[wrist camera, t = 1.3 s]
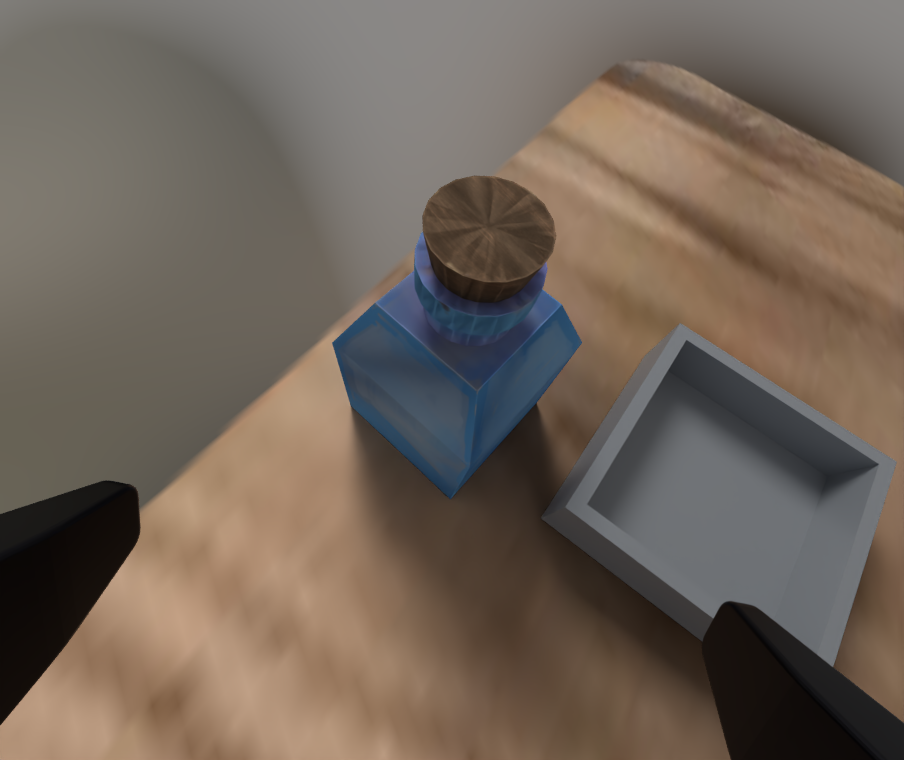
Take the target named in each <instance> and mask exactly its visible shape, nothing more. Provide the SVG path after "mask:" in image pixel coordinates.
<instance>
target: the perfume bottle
mask: <svg viewBox="0 0 904 760" xmlns="http://www.w3.org/2000/svg"><path fill="white" fill-rule="evenodd" d="M555 240H556V232H555V226H554V221H553V218H552V217H551V215H550V213H549V211H548V210H547V208H546V206H545V204H544V203H543V202H542V201H540V200H539V199H538V198H537V197H536V196H535V195H534V194H533V193H532V192H531V191H529V190H527V189H526V188H524V187H522V186H520V185H518V184H517V183H515V182H512V181H509V180H505V179H502V178H498V177H494V176H471V177H466V178H462V179H456V180H454V181H452V182H450V183H449V184H447V185H445V186H443V187H441V188H440V189H439V190H438V191H437V192H436V193H435V194H434V195H433V196H432V197H431V198H430V199H429V200H428V203H427V205H426V208H425V211H424V213H423V232H422V233H421V235H420V237H419V240H418V243H417V245H416V248H415V262H414V271H413V272H412V273H411V274H410V275H408V276H407V277H406V278H405V279H404V280H402V281H401V282H400V283H399V284H397V285H396V286H395V287H394V288H393V289H391V290H390V291H389V292H388V293H387V294H385V295H384V296H383V297H382V298H380V299H379V300H378V301H377V302H376V303H374V304H373V305H372V306H371V307H370V308H369V309H368V310H367V311H366V312H365V313H364V314H363V315H362V316H360V317H359V318H358V319H357V320H356V321H355V322H354V323H353V324H352V325H351V326H350V327H349V328H348V329H346V330H345V331H344V332H343V333H342V334H341V335H340V336H339V337H338V338H337V339H336V340H335V341H334V342H332V344H333V347H334V350H335V354H336V357H337V360H338V364H339V367H340V371H341V374H342V377H343V381H344V384H345V388H346V391H347V394H348V398H349V401H350V405H351V406H352V407H353V408H354V409H355V410H356V411H357V412H358V413H359V414H360V415H361V416H362V417H363V418H364V419H366V420H367V421H368V422H369V423H370V424H371V425H372V426H373V427H374V428H375V429H376V430H377V431H378V432H379V433H380V434H381V435H383V436H384V437H385V438H386V439H387V440H388V441H389V442H390V443H391V444H392V445H393V446H394V447H395V448H396V449H397V450H399V451H400V452H401V453H402V454H403V455H404V456H405V457H406V458H407V459H408V460H409V461H410V462H411V463H412V464H413V465H414V466H416V467H417V468H418V469H419V470H420V471H421V472H422V473H423V474H424V475H425V476H426V477H427V478H428V479H429V480H430V481H431V482H433V483H434V484H435V485H436V486H437V487H438V488H439V489H440V490H441V491H442V492H443V493H444V494H445V495H446V496H447V497H449V498H450V499H451V498H452V497H453V496H454V495H455V494H456V492H457V491H458V490H459V489H460V488H461V487H462V486H463V485H464V484H465V482H466V481H467V480H468V479H469V478H470V477H471V476H472V475H473V473H474V472H475V471H476V470H477V469H478V468H479V467H480V466H481V464H482V463H483V462H484V461H485V460H486V459H487V458H488V457H489V456H490V454H491V453H492V452H493V451H494V450H495V449H496V448H497V447H498V445H499V444H500V443H501V442H502V441H503V440H504V439H505V438H506V436H507V435H508V434H509V433H510V432H511V431H512V430H513V429H514V427H515V426H516V425H517V424H518V423H519V422H520V421H521V420H522V419H523V417H524V416H525V415H526V414H527V413H528V412H529V411H530V410H531V408H532V407H533V406H534V405H535V404H536V403H537V401H538V400H539V399H540V398H541V396H542V395H543V394H544V392H545V391H546V390H547V388H548V387H549V386H550V384H551V383H552V382H553V380H554V379H555V378H556V376H557V375H558V374H559V372H560V371H561V370H562V369H563V367H564V366H565V365H566V363H567V362H568V361H569V359H570V358H571V357H572V355H573V354H574V353H575V351H576V350H577V349H578V347H579V346H580V345H581V343H582V342H581V340H580V338H579V336H578V334H577V332H576V330H575V328H574V327H573V325H572V323H571V321H570V319H569V317H568V315H567V313H566V312H565V310H564V308H563V306H562V304H560V303H559V302H558V301H557V300H555V299H554V298H553V297H551V296H550V295H549V294H547V293H546V292H545V291H544V290H542V288H543V286H544V282H545V277H546V273H547V264H546V261H547V260H548V258H549V257H550V255H551V254H552V253H553V249H554V244H555Z"/></svg>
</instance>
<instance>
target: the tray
mask: <svg viewBox="0 0 904 760" xmlns="http://www.w3.org/2000/svg"><path fill="white" fill-rule="evenodd" d="M896 463H897V462H896V461H895V460H893V459H891V458H890V457H888V456H887V455H885V454H884V453H882V452H880V451H879V450H877V449H876V448H874V447H873V446H871V445H870V444H868V443H866V442H865V441H863V440H862V439H860V438H859V437H857V436H856V435H854V434H852V433H851V432H849V431H848V430H846V429H845V428H843V427H841V426H840V425H838V424H837V423H835V422H834V421H832V420H831V419H829V418H827V417H826V416H824V415H823V414H821V413H820V412H818V411H817V410H815V409H813V408H812V407H810V406H809V405H807V404H806V403H804V402H802V401H801V400H799V399H798V398H796V397H795V396H793V395H792V394H790V393H788V392H787V391H785V390H784V389H782V388H781V387H779V386H778V385H776V384H774V383H773V382H771V381H770V380H768V379H767V378H765V377H763V376H762V375H760V374H759V373H757V372H756V371H754V370H753V369H751V368H749V367H748V366H746V365H745V364H743V363H742V362H740V361H739V360H737V359H735V358H734V357H732V356H731V355H729V354H728V353H726V352H724V351H723V350H721V349H720V348H718V347H717V346H715V345H714V344H712V343H710V342H709V341H707V340H706V339H704V338H703V337H701V336H700V335H698V334H696V333H695V332H693V331H692V330H690V329H689V328H687V327H685V326H684V325H682V324H681V323H680V324H679V325H678V326H677V327H675V328H674V329H673V330H672V331H671V332H670V333H669V334H668V335H667V336H666V337H665V338H664V339H662V340H661V341H660V342H659V343H658V344H657V345H656V346H655V347H654V348H653V349H652V350H651V351H649V352H648V353H647V354H646V355H645V356H644V358H643V360H642V361H641V363H640V364H639V366H638V367H637V369H636V370H635V372H634V374H633V375H632V377H631V378H630V380H629V381H628V383H627V384H626V386H625V388H624V389H623V391H622V392H621V394H620V395H619V397H618V398H617V400H616V402H615V403H614V405H613V406H612V408H611V409H610V411H609V413H608V414H607V416H606V417H605V419H604V420H603V422H602V423H601V425H600V427H599V428H598V430H597V431H596V433H595V434H594V436H593V437H592V439H591V441H590V442H589V444H588V445H587V447H586V448H585V450H584V452H583V453H582V455H581V456H580V458H579V459H578V461H577V462H576V464H575V466H574V467H573V469H572V470H571V472H570V473H569V475H568V476H567V478H566V480H565V481H564V483H563V484H562V486H561V487H560V489H559V490H558V492H557V494H556V495H555V497H554V498H553V500H552V501H551V503H550V505H549V506H548V508H547V509H546V511H545V512H544V514H543V515H542V517H541V519H542V520H544V521H545V522H546V523H548V524H549V525H550V526H552V527H553V528H554V529H555V530H557V531H558V532H559V533H561V534H562V535H563V536H565V537H566V538H567V539H569V540H570V541H571V542H572V543H574V544H575V545H576V546H578V547H579V548H580V549H582V550H583V551H584V552H586V553H587V554H588V555H589V556H591V557H592V558H593V559H595V560H596V561H597V562H599V563H600V564H601V565H603V566H604V567H605V568H606V569H608V570H609V571H610V572H612V573H613V574H614V575H616V576H617V577H618V578H620V579H621V580H622V581H623V582H625V583H626V584H627V585H629V586H630V587H631V588H633V589H634V590H635V591H637V592H638V593H639V594H641V595H642V596H643V597H644V598H646V599H647V600H648V601H650V602H651V603H652V604H654V605H655V606H656V607H658V608H659V609H660V610H661V611H663V612H664V613H665V614H667V615H668V616H669V617H671V618H672V619H673V620H675V621H676V622H677V623H678V624H680V625H681V626H682V627H684V628H685V629H686V630H688V631H689V632H690V633H692V634H693V635H694V636H695V637H697V638H698V639H699V640H701V641H703V637H704V635H705V633H706V631H707V629H708V628H709V626H710V624H711V622H712V620H713V618H714V616H715V615H716V613H717V611H718V609H719V607H720V606H721V604H723V603H724V602H726V601H735V602H740V603H745V604H750V605H753V606H755V607H757V608H759V609H760V610H761V611H763V612H764V613H765V614H766V615H768V616H769V617H770V618H771V619H773V620H774V621H775V622H777V623H778V624H779V625H780V626H782V627H783V628H784V629H785V630H787V631H788V632H789V633H790V634H792V635H793V636H794V637H796V638H797V639H798V640H799V641H801V642H802V643H803V644H804V645H806V646H807V647H808V648H809V649H811V650H812V651H813V652H815V653H816V654H817V655H818V656H820V657H821V658H822V659H823V660H825V661H826V662H827V663H828V664H830V665H831V666H832V667H833V666H834V663H835V659H836V656H837V653H838V650H839V647H840V643H841V640H842V637H843V634H844V630H845V627H846V624H847V621H848V617H849V614H850V611H851V608H852V605H853V601H854V598H855V595H856V592H857V588H858V585H859V582H860V579H861V576H862V572H863V569H864V566H865V563H866V559H867V556H868V553H869V550H870V546H871V543H872V540H873V537H874V534H875V530H876V527H877V524H878V521H879V517H880V514H881V511H882V508H883V505H884V501H885V498H886V495H887V492H888V488H889V485H890V482H891V479H892V475H893V472H894V469H895V466H896Z"/></svg>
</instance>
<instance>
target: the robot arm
mask: <svg viewBox="0 0 904 760" xmlns="http://www.w3.org/2000/svg"><path fill="white" fill-rule="evenodd" d="M139 535H140V513H139V497H138V491H137V489H136V488H135V487H134V486H132V485H130V484H125V483H120V482H115V481H101V482H98V483H95V484H91V485H88V486H85V487H82V488H79V489H76V490H73V491H70V492H67V493H64V494H61V495H58V496H55V497H52V498H49V499H46V500H43V501H39V502H36V503H33V504H30V505H28V506H24V507H21V508H18V509H15V510H12V511H9V512H6V513H3V514H0V725H1V724H2V723H3V722H4V720H5V719H6V718H7V717H8V716H9V714H10V713H11V712H12V711H13V709H14V708H15V707H16V706H17V705H18V703H19V702H20V701H21V700H22V699H23V697H24V696H25V695H26V694H27V693H28V691H29V690H30V689H31V688H32V686H33V685H34V684H35V683H36V682H37V680H38V679H39V678H40V677H41V676H42V674H43V673H44V672H45V671H46V670H47V668H48V667H49V666H50V665H51V663H52V662H53V661H54V660H55V658H56V657H57V656H58V655H59V653H60V652H61V651H62V650H63V648H64V647H65V646H66V644H67V643H68V642H69V640H70V639H71V638H72V636H73V635H74V633H75V632H76V631H77V629H78V628H79V627H80V625H81V624H82V622H83V621H84V619H85V618H86V616H87V615H88V613H89V612H90V611H91V609H92V608H93V606H94V605H95V603H96V602H97V600H98V599H99V597H100V596H101V595H102V593H103V592H104V590H105V589H106V587H107V586H108V584H109V583H110V581H111V580H112V579H113V577H114V576H115V574H116V573H117V571H118V570H119V568H120V567H121V566H122V564H123V563H124V561H125V560H126V558H127V557H128V555H129V554H130V552H131V551H132V550H133V548H134V546H135V545H136V543H137V541H138V538H139ZM702 654H703V658H704V662H705V666H706V670H707V673H708V677H709V681H710V685H711V688H712V692H713V696H714V699H715V703H716V707H717V711H718V714H719V718H720V722H721V725H722V729H723V733H724V737H725V740H726V744H727V748H728V751H729V755H730V758H731V760H904V723H903V722H902V721H901V720H899V719H898V718H897V717H896V716H894V715H893V714H892V713H891V712H889V711H888V710H887V709H885V708H884V707H883V706H882V705H880V704H879V703H878V702H877V701H875V700H874V699H873V698H872V697H870V696H869V695H868V694H866V693H865V692H864V691H863V690H861V689H860V688H859V687H858V686H856V685H855V684H854V683H853V682H851V681H850V680H849V679H847V678H846V677H845V676H844V675H842V674H841V673H840V672H839V671H837V670H836V669H835V668H834V667H832V666H831V665H830V664H828V663H827V662H826V661H825V660H823V659H822V658H821V657H820V656H818V655H817V654H816V653H815V652H813V651H812V650H811V649H809V648H808V647H807V646H806V645H804V644H803V643H802V642H801V641H799V640H798V639H797V638H796V637H794V636H793V635H792V634H790V633H789V632H788V631H787V630H785V629H784V628H783V627H782V626H780V625H779V624H778V623H777V622H775V621H774V620H773V619H771V618H770V617H769V616H768V615H766V614H765V613H764V612H763V611H761V610H760V609H759V608H757V607H755V606H753V605H750V604H745V603H740V602H735V601H726V602H724V603H723V604H721V606H720V607H719V609H718V611H717V613H716V615H715V616H714V618H713V620H712V622H711V624H710V626H709V628H708V629H707V631H706V633H705V635H704V637H703V641H702Z"/></svg>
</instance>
